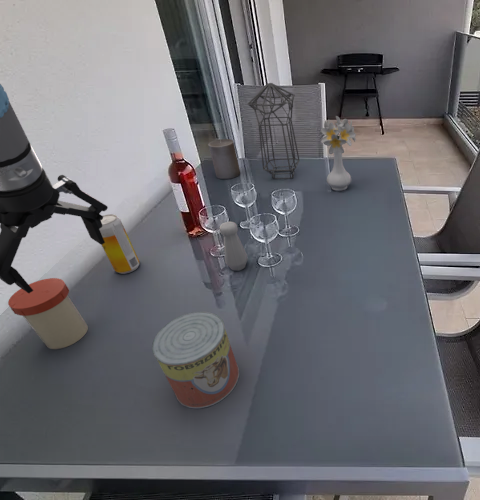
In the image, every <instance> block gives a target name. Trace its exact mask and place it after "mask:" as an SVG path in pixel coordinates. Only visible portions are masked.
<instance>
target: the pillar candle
mask: <svg viewBox="0 0 480 500" xmlns="http://www.w3.org/2000/svg"><path fill="white" fill-rule="evenodd" d="M207 146H208V149H209V153H210V156H211V160H212V161H211V162H212V164H213V168H214V172H215V177H216V178H217V179H219V180H231V179H235V178H237V177H239V176H240V174H241V170H240V167H239V166H240V165H239V160H238V157H237V151H236V147H235V142H234V140H233V139H230V138H219V139H215V140H212V141H210V142H208V144H207Z"/></svg>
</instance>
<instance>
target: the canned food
mask: <svg viewBox="0 0 480 500" xmlns="http://www.w3.org/2000/svg"><path fill="white" fill-rule="evenodd" d="M151 351H152V354H153V356H154V358H155V359H156V360H157V362H158V364H159V366H160V368H161V370H162V372H163V374H164V376H165V377H166V380H167V381H168V384H169V385H170V387H171V389H172V390H173V393H174V395H175V398H176V400H177V402H178V403H179V404H180V405H182V406H184V407H186V408H190V409H194V410H195V409H198V410H199V409H205V408H208V407H209V408H210V407H212V406H214V405H216V404H218V403H220V402H221V401H223V400H225V398H227V397H228V396H229V395H230V394H231V393H232V391H233V390H234V389H235V387H236V385H237V384H238V381H239V379H240V378H239V377H240V367H239V365H238V362H237V361H236V357H235V355H234V351H233V349H232V346H231V342H230V339H229V336H228V334H227V330H226V326H225V323H224V320H223V319H222V318H221V316H219V315H217V314H216V313H214V312H209V311H194V312H189V313H185V314H183V315H181V316H178V317H176V318H174V319H172V320H171V321H169V322H168V323H167V324H165V325H164V326H163V327H162V328H161V329H160V330H159V331H158V332H157V334H156V335H155V337H154V339H153V342H152V345H151Z"/></svg>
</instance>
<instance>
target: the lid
mask: <svg viewBox="0 0 480 500" xmlns="http://www.w3.org/2000/svg"><path fill="white" fill-rule="evenodd" d="M28 285H29V286H30V287H31V288H32V289H33V291H32V292H31V293H27V292H26V291H24V290H23V289H21V288H19V289H18V290H16V291H15V292H14V293H13V294H12V295H11V296H10V298H9V299H8V302H7V304H8V307H10V309H11V311H12V313H14V315H17V316H20V317H21V316H22V317H23V316H29V315H35V314H39V313H42V312H44V311H47V310H49V309H51V308H53V307H55V306H56V305H58V304H59V303H61V302H62V301H63V300H64V299H65V298H66V297H67V295H68V296H69V293H70V289H69V287H68V285H67V284H66V282H65V281H64V280H63V279H62V278H57V277H49V278H44V279H40V280H37V281H34V282H30V283H28Z"/></svg>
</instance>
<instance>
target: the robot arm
mask: <svg viewBox="0 0 480 500" xmlns="http://www.w3.org/2000/svg"><path fill="white" fill-rule="evenodd" d="M9 98H10V97H9V96H8V94H7V91H6V90H5V88H4V87H3V85H2V84H1V83H0V280H1V281H2V282H4V283H5V284H7V285H8V286H12V285H14V284H15V285H16V287H19V289H23V290H24V291H26V292H27V293H31V292H32V291H33V289H32V288H31V287H30V286H29V283H28V282H27V281H26V280H25V278H24V277H23V276H22V274H21V273H19V271H18V270H17V269H16V268H15V267H13V266H12V265H13V262H14V260H15V258H16V255H17V252H18V249H19V248H20V245H21V242H22V240H23V238H26V237H27V235H28V233H29V230H30V228H31V229H33V228H36V227H38V226H39V225H40V224H41V223H42V222H45V221H48V220H50V219H52V218H53V217H52V216H53V215H55V214H56V215H57V214H58V215H63V216H65V215H70V216H75V217H80V218H81V220H82V222H83V224H84V227H85V228H86V231H87V233H88V235H89V237H90V239H92V240H93V241H94V242H96V243H98V244H99V245H100V246H102V244H104V243H105V241H104V239H103V237H102V234H101V232H100V230H99V229H100V228H101V227H102V223H101V220H102V219H103V215H102V214H101V212H106V211H108V208H109V207H108V205H107V204H104V203H103V202H101V201H100V200H98V199H97V198H95V197H93V196H92V195H90V194H89V193H87V192H85V191H84V190H83V189H81V188H80V187H79V185H78V184H77V182H75V181H74V180H72V179H71V178H69V177H67V176H66V175H65V174H60V175H58V176H57V182H56V183H53V184H52V183H51V182H52V181H51V180H50V179H49V177H48V175H47V173H46V171H45V169H44V168H43V167H42V166H43V165H42V164H41V161H40V160H39V157H38V156H37V154H36V152H35V149H34V148H33V146H32V144H31V142H30V140H29V139H28V136H27V134H26V133H25V130H24V127H23V126H22V123H21V122H20V120H19V118H18V116H17V114H16V112H15V110H14V108H13V106H12V104H11V102H10V99H9ZM60 193H64V194H69V195H73V196H75V197H77V198H79V199H80V200H82V201H84V202H85V203H87V204H89V205H90V206H86V205H81V204H78V203H77V204H76V203H72V202H68V201H67V202H66V201H63V200H59V199H60V196H61V194H60Z"/></svg>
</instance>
